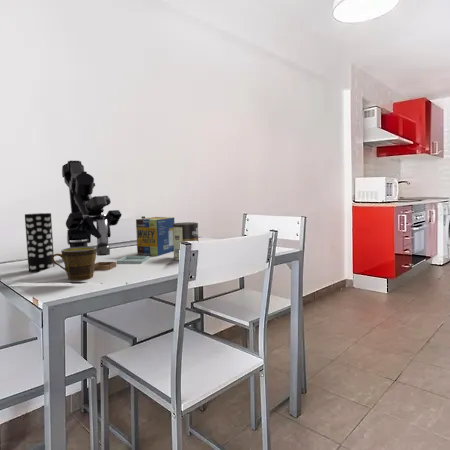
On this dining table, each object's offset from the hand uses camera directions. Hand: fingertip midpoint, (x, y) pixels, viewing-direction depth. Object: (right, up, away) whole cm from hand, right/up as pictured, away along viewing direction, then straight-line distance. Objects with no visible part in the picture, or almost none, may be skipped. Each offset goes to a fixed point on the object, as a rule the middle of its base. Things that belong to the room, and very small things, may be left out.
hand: (104, 237), depth 127 cm
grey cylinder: (-1, -6, +1) cm, 6 cm away
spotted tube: (-24, -12, +6) cm, 28 cm away
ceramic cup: (-4, -13, -14) cm, 20 cm away
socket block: (-1, -12, +2) cm, 12 cm away
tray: (+6, -10, +14) cm, 19 cm away
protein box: (+11, -8, +39) cm, 41 cm away
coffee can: (+25, -9, +24) cm, 36 cm away
